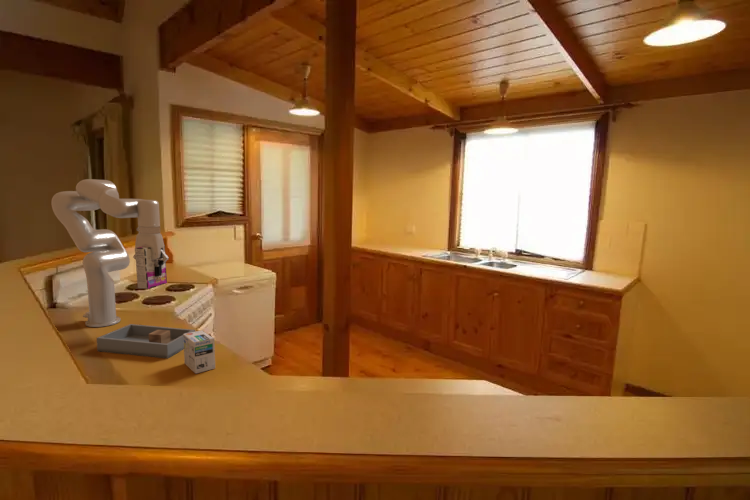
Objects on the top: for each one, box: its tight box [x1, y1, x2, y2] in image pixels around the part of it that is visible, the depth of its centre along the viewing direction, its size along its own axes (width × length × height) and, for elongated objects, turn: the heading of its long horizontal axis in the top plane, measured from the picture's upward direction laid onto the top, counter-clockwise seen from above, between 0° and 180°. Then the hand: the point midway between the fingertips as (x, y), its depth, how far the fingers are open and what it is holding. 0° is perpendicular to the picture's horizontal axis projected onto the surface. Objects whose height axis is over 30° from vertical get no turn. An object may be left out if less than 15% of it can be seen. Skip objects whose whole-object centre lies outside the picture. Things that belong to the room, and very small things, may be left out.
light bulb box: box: [183, 329, 216, 374], centre depth 131 cm, size 11×7×11 cm, turn 44°
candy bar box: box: [134, 244, 168, 290], centre depth 157 cm, size 11×5×16 cm, turn 170°
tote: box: [96, 323, 196, 360], centre depth 146 cm, size 28×16×5 cm, turn 81°
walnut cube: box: [149, 330, 171, 344], centre depth 145 cm, size 5×5×5 cm
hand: (151, 275), depth 158 cm, fingers closed on candy bar box, 5 cm apart
